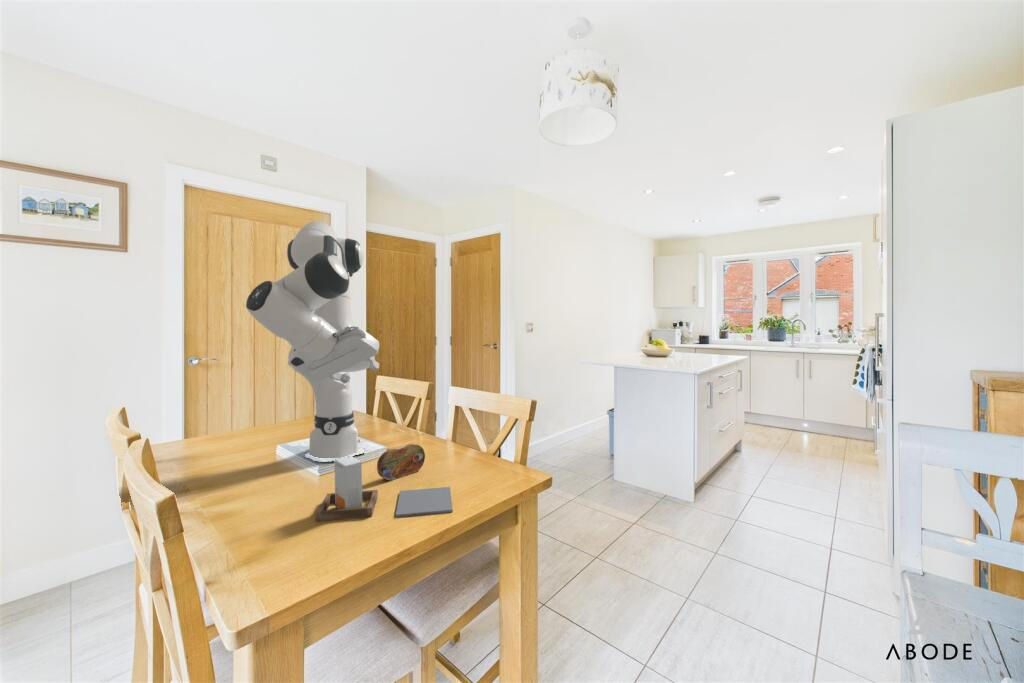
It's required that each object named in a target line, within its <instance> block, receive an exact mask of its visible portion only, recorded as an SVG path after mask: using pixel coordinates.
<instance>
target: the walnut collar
mask: <svg viewBox="0 0 1024 683" xmlns="http://www.w3.org/2000/svg"><path fill="white" fill-rule="evenodd" d="M378 494H379V492H378V489H370V490H362V501H368V505H367V506H362V507H355V508H344V509H338V508H334V509H329V507H330V505H331V504H333V503H335V492H332V493H327V494H326V495H325V497H324V498H323V500H322V502H321V503H320V506H319V507H318V508H317V510H316V512H315V522H327V521H338V520H348V519H349V520H350V519H356V518H357V519H358V518H367V517H368V518H370V517H373V514H374V512H375V507H376V504H377V501H378Z"/></svg>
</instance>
